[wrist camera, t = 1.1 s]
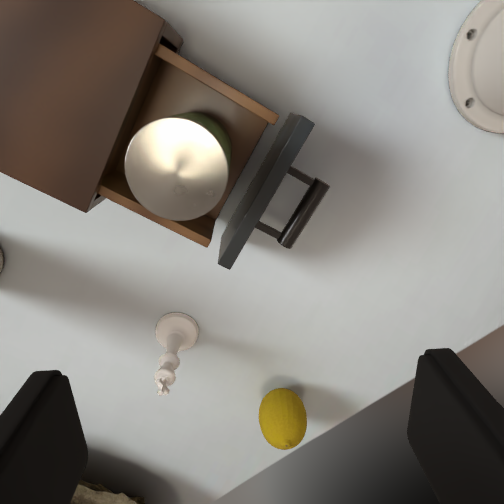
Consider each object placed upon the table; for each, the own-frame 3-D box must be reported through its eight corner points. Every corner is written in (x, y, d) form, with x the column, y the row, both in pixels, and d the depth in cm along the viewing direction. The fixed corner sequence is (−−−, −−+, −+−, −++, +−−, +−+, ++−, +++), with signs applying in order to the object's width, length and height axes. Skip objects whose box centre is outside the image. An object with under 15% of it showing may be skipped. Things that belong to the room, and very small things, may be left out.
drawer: (340, 143, 35) (363, 152, 29) (268, 260, 40) (273, 291, 33) (164, 35, 32) (144, 19, 25) (105, 178, 36) (76, 195, 29)
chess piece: (184, 305, 42) (169, 363, 33) (206, 338, 44) (197, 401, 35) (147, 323, 43) (122, 384, 34) (170, 354, 45) (152, 421, 36)
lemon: (309, 395, 48) (322, 449, 40) (273, 415, 49) (279, 472, 41) (284, 367, 46) (293, 418, 39) (248, 388, 47) (250, 443, 40)
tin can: (197, 94, 32) (176, 92, 22) (246, 152, 34) (249, 176, 24) (145, 145, 34) (102, 166, 23) (195, 197, 36) (177, 240, 25)
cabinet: (184, 39, 32) (165, 19, 24) (119, 188, 37) (85, 213, 29) (12, -66, 29) (-76, -129, 21) (-35, 110, 34) (-121, 114, 26)
